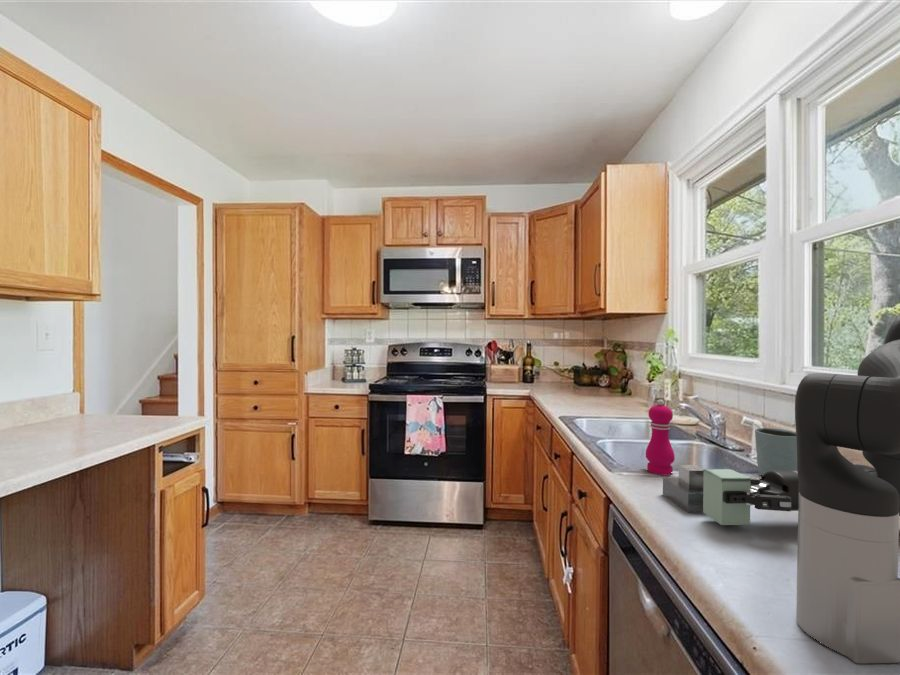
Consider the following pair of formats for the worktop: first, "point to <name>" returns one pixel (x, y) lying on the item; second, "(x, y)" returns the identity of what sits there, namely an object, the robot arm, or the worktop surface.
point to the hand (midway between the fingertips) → (713, 491)
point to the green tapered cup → (776, 450)
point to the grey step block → (686, 488)
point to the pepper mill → (660, 440)
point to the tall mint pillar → (713, 496)
